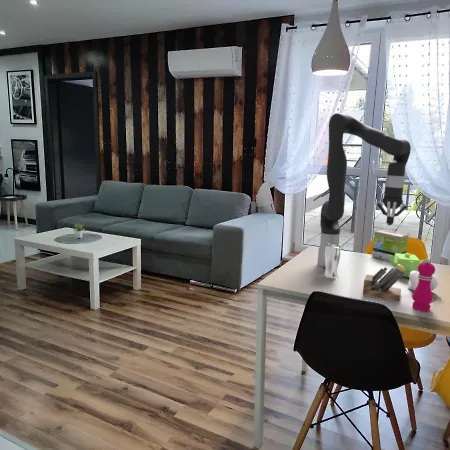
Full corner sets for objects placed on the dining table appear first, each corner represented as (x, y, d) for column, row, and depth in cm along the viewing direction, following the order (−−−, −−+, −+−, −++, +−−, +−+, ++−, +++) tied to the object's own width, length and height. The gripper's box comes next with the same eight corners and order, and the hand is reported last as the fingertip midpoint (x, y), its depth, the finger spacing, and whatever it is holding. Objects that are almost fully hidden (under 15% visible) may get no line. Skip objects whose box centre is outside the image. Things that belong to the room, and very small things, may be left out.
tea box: (371, 256, 234) (374, 231, 231) (380, 254, 241) (382, 228, 238) (397, 263, 223) (400, 236, 220) (405, 260, 230) (409, 233, 227)
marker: (377, 285, 174) (398, 264, 169) (378, 282, 177) (398, 262, 172) (383, 290, 173) (404, 270, 169) (384, 288, 176) (405, 268, 172)
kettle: (409, 282, 192) (412, 259, 190) (382, 274, 203) (385, 252, 201) (427, 277, 200) (430, 254, 198) (400, 269, 212) (402, 248, 210)
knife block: (362, 294, 174) (365, 268, 172) (365, 288, 182) (367, 263, 180) (401, 301, 168) (404, 274, 166) (402, 294, 176) (405, 268, 174)
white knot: (399, 286, 187) (401, 266, 185) (425, 286, 188) (427, 267, 186) (412, 295, 176) (414, 275, 174) (439, 295, 177) (442, 275, 175)
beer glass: (339, 275, 198) (342, 245, 195) (336, 279, 192) (339, 248, 189) (324, 273, 201) (327, 243, 198) (321, 277, 195) (324, 246, 192)
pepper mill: (407, 304, 165) (413, 255, 161) (424, 304, 166) (431, 256, 162) (417, 312, 158) (423, 261, 154) (435, 312, 159) (442, 261, 155)
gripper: (411, 186, 183) (406, 225, 187) (379, 184, 189) (374, 221, 192) (410, 188, 176) (405, 228, 180) (377, 185, 182) (372, 224, 186)
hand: (389, 224), depth 186 cm, fingers closed
